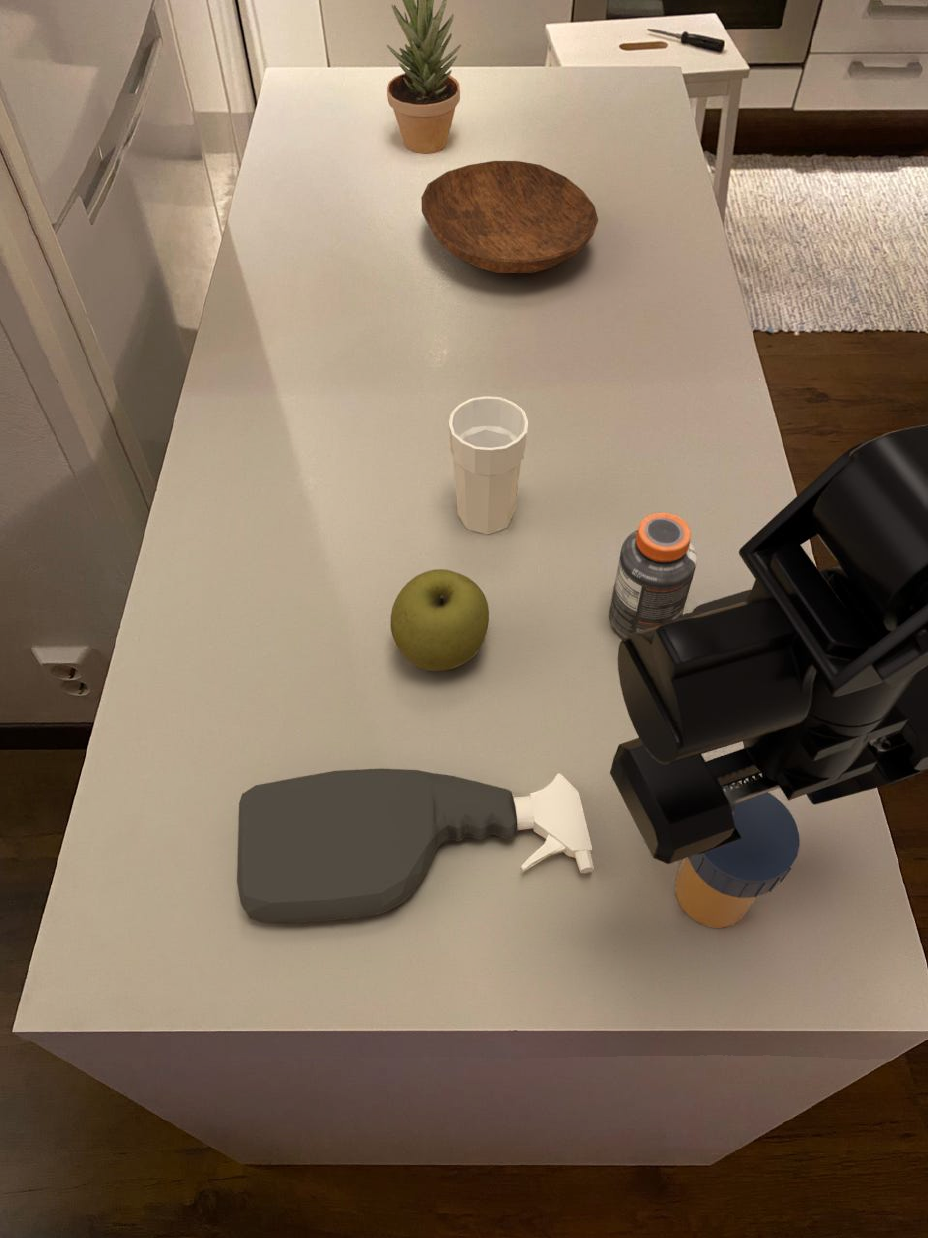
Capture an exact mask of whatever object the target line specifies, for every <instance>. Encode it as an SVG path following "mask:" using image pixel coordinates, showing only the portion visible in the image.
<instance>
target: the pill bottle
mask: <svg viewBox="0 0 928 1238" xmlns="http://www.w3.org/2000/svg"><path fill="white" fill-rule="evenodd" d="M691 540H692V530H691V527H690V526H689V524H688V523H687V522H686V521H685V520H684V519H683V518H681V517H680V516H679V515H677V514H673V513H671V512H660V511H659V512H654V513H650V514H648V515H646V516H645V517H644V518H643V519H641V521H640V523H639V524H638V528H637V530H635V531H633V532H632V533H630V534H629V535H628V536H627V537H626V538H625V539H624V541H623V543H622V545H621V549H620V551H619V552H620V553H619V557H618V564H617V569H616V574H615V579H614V585H613V589H612V590H613V591H612V595H611V599H610V605H609V611H608V619H609V622H610V625H611V628H612V629H613V631H614V632H615V634H616V635H617V636H619V637H620V638H621V639H622V640H625V639H626V638H627V637H628V635H629V634H631V633H635V632H638V631H642V630H646V629H649V628H653V627H656V626H660V625H663V624H667V623H671V622H672V620H673V619H676V618H679V616H681V615H684V610H685V608H686V607H685V606H686V603H687V601H688V600H687V599H688V597H689V593H690V589H691V587H692V583H693V579H694V576H695V573H696V568H697V563H698V556H697V552H696V548H695V546H694V545H693V544H692V541H691Z"/></svg>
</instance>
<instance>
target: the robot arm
mask: <svg viewBox="0 0 928 1238" xmlns="http://www.w3.org/2000/svg"><path fill="white" fill-rule="evenodd" d="M815 536H817V537H818V539H819V541H821V542H822V544H823V545H824V547H825V548H826V549H827V551H828V552H829V553H830V555H831V556H832V558H833V559H834V560H835V561H836V563H837V564H836V565H832V566H830V567H827V568H824V569H823V570H821V571H820V570H819V569H818V567H817V566H816V564H815V563H814V561H813V560H812V559H811V558H810V556H809V555H808V553H807V552H806V551H805V549H804V548H803V546H802V545H803V544H805V543H806V542H808V541H809V540H811V539H813V538H814V537H815ZM738 555H739V557H740V558H741V560H742V561H743V562H744V564H745V566H746V567H747V568H748V570H749V572H750V573H751V575H752V576H753V578H754V579H755V580H754V583H753V584H752V586H751V587H752V588H751V589H747V590H743V591H740V592H736V593H734V594H730V595H726V596H724V597H720V598H718V599H714V600H711V601H708V602H705V603H702V604H699V605H696V607H694V608H693V610H692V611H691V612H687V613H683V614H682V615H681V616H679V618H676V619H673V620H672V622H671V623H667V624H663V625H660V626H656V627H653V628H649V629H646V630H642V631H638V632H635V633H631V634H629V635H628V637H627V638H626V639H625V640H624V639H622V640H621V641H620V643H619V645H618V651H617V670H618V677H619V678H618V679H619V685H620V690H621V693H622V694H621V695H622V698H623V701H624V704H625V708H626V711H627V714H628V717H629V719H630V721H631V723H632V727H633V728H634V731H635V733H636V734H637V738H634V739H631V740H627V741H625V742H621V743H618V746H617V749H616V751H615V753H614V756H613V759H612V763H611V767H610V771H609V774H610V776H611V779H612V780H613V782H614V784H615V786H616V789H617V790H618V792H619V794H620V796H621V798H622V800H623V802H624V804H625V806H626V808H627V810H628V812H629V814H630V816H631V818H632V820H633V821H634V823H635V825H636V828H637V829H638V831H639V833H640V835H641V837H642V839H643V842H644V843H645V845H646V848H647V849H648V851H649V853H650V855H651V857H652V858H653V859H654V860H656V861H657V860H658V861H659V862H662V863H664V864H667V865H670V864H673V863H676V862H679V861H682V860H684V858H687V857H689V856H692V855H699V854H702V853H705V852H708V851H710V850H713V849H716V848H718V847H721V846H724V845H727V844H729V843H732V842H735V841H737V840H740V839H741V836H740V834H739V832H738V831H737V829H736V827H735V824H734V820H733V814H734V811H735V804H737V803H739V802H742V801H745V800H748V799H751V798H753V797H756V796H759V795H762V794H764V793H767V792H768V793H770V792H773V791H775V790H778V789H780V790H781V791H782V794H784V796H785V797H786V799H787V801H792V800H794V799H797V798H800V797H802V796H805V795H806V797H807V798H808V800H809V801H810V802H811V804H812V805H814V806H815V805H820V804H823V803H827V802H830V801H834V800H838V799H842V798H845V797H848V796H852V795H856V794H859V793H862V792H863V793H864V792H866V791H870V790H874V789H877V788H878V789H879V788H881V787H886V786H888V785H891V784H894V783H897V782H899V781H902V780H904V779H908V778H910V777H913V776H916V775H918V774H921V773H923V772H925V771H927V770H928V423H926V424H922V425H917V426H911V427H905V428H902V429H897V430H893V431H889V432H886V433H884V434H881V435H879V436H873V437H871V438H868V439H866V440H863V441H861V442H859V443H858V444H856V445H854V446H852V447H850V448H849V449H848V450H846V451H845V452H844V453H842V454H841V455H840V456H838V458H836V459H835V460H834V461H833V462H832V463H831V464H830V465H829V466H828V467H827V468H826V469H825V470H823V471H822V472H821V473H820V474H819V475H818V476H817V477H816V478H814V480H813V481H812V482H810V483H809V484H808V485H807V486H806V487H805V488H804V489H803V490H802V491H800V493H798V495H796V496H795V497H794V498H793V499H792V500H791V501H790V502H789V503H788V504H787V505H786V506H784V508H782V509H781V510H780V511H779V512H778V513H777V514H776V515H775V516H774V517H773V518H772V519H770V520H769V521H768V522H767V523H766V524H765V525H764V526H763V527H762V528H761V529H760V530H759V531H758V532H756V533H755V534H754V535H753V536H752V537H751V538H750V539H749V540H748V541H747V542H745V544H743V546H742V547H740V548H739V551H738ZM741 742H742V745H743V748H741V749H740V748H739V749H738V750H734V751H731V752H729V753H725V754H723V755H721V756H718V757H715V758H712V759H709V760H705V757H704V756H703V754H706V753H710V752H712V751H716V750H719V749H723V748H725V747H726V748H727V747H729V746H732V745H735V744H738V743H741ZM732 784H735V786H734V785H732ZM725 786H728V789H727V788H726V787H725Z"/></svg>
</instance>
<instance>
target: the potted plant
mask: <svg viewBox="0 0 928 1238" xmlns="http://www.w3.org/2000/svg"><path fill="white" fill-rule="evenodd" d="M401 1H402V3H403V5H404V7H405V10H406V12H407V13H406V12H404V13H403V14H404V16H403V15H402V13H401V12H400V11H399V9H398V7H397V6H396V5H395V4H394V5H393V4H391V5H390V6H391V9H392V11H393V14H394V16H395V19H396V21H397V23H398V25H399V27H400V28H401V30H402V32H403V33H404V35H405V38H406V40H407V42H408V44H409V45H408V44H406V43H404V48H405V49H403V48H401V47H399V51H400V53H401V54H400V53H398V52H397V51H396V50H395V49H393V48H392V47H391V46H390V45H389V44H386V47H387V49H388V50H389V51H390V53H391V54H392V55H393V56H394V57H395V58H396V59H397V61H399V62H398V65H399V67H400V68H401V69H402V71H403V72H404V73H402V74H399V75H396V76H394V77H393V78H392V79H391V80H390V81H389V82H388V83H387V86H386V98H387V103H388V105H389V107H390V108H391V109H392V110H393V114H394V116H395V119H396V122H397V125H398V128H399V132H400V134H401V137H402V140H403V144H404V146H405V147H406V149H408V150H410V151H411V152H414V153H421V154H433V153H437V152H440V151H443V150H444V148H446V146H447V141H448V140H449V136H450V131H451V127H452V124H453V119H454V116H455V112H456V108H457V106H458V105H459V103H460V101H461V87H460V83H459V81H458V79H456V78H454V77H453V76H452V75H451V74H452V69H451V67H452V66H453V64H454V63H455V61H456V60H457V58H458V55H455V54H456V53H457V52H458V51H459V49H460V48H461V47H462V44H459V45H458V46H456V47H455V48H454V49H453V50H452V51H451V52H450V53H449V54H447V55H446V56H445V57H443V56H444V53H445V51H446V49H447V46H448V45H449V43H450V41H451V39H452V35H453V33H452V32H450V33H449V31H450V28H451V26H452V23H453V21H454V17H455V14H454V13H452V14H451V16H450V17H449V18H448V20H447V21H446V22H445V23H444V24H443V26H442V27H441V24H442V21H443V16H444V13H445V10H446V7H447V1H448V0H442V2H441V4H440V6H439V9H438V11H437V12H436V13H435V16H434V5H435V0H416V1H415V0H401ZM407 15H408V16H407ZM408 17H409V18H408ZM409 19H410V22H409ZM440 27H441V28H440ZM448 33H449V35H448V36H447V34H448ZM446 37H447V38H446ZM444 40H445V41H444ZM454 55H455V56H454ZM452 57H453V58H452ZM451 58H452V59H451ZM445 63H446V64H445ZM449 69H450V70H449Z"/></svg>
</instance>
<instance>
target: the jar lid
mask: <svg viewBox="0 0 928 1238" xmlns="http://www.w3.org/2000/svg"><path fill="white" fill-rule="evenodd" d="M732 785H734V786H735V783H733V784H732ZM725 787H726V788H727V789H728V786H725ZM733 820H734V824H735V827H736V829H737V831H738V832H739V834H740V836H741V839H740V840H737V841H735V842H732V843H729V844H727V845H724V846H721V847H718V848H716V849H713V850H710V851H708V852H705V853H702V854H699V855H692V856H689V857H688V858H689V861H690V863H691V865H692V867H693V868H694V870H695V872H696V873H697V874H698V875H699V877H700V878H701V879H702V880H703V881H704V882H705V883H707V885H709V886H710V887H712V888H714V889H715V890H717V891H719V892H721V893H722V894H726V895H729V896H733V897H739V898H752V897H755V898H756V899H757V898H758V897H760V896H763V895H765V894H768V893H771V892H772V891H773V890H774V889H775V888H776V887H777V886H778V885H779V884H780V883H783V881H784V879H786V877H787V875H788V874H789V873H790V871H791V870H792V866H793V864H794V863H795V861H796V859H797V857H798V854H799V850H800V845H801V844H800V841H801V840H800V832H799V828H798V824H797V822H796V820H795V818H794V816H793V814H792V813H791V811H790V810H789V809H788V808H787V806H786V805H785V804H784V803H783V802H782V801H781V800H780V799H779V798H777V797H776V796H775V795H773V794H772V793H770V792H767V793H764V794H762V795H759V796H756V797H753V798H751V799H748V800H745V801H742V802H739V803H737V804H735V811H734V814H733Z"/></svg>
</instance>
